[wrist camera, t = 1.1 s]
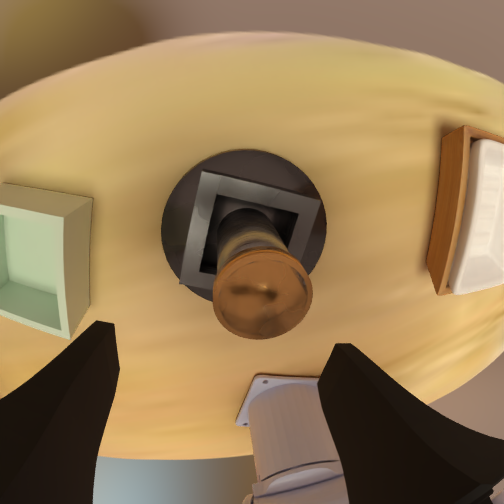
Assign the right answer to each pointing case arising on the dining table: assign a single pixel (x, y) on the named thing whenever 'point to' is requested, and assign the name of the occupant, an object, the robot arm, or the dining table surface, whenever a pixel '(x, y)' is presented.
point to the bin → (44, 258)
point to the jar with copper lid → (257, 278)
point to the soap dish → (468, 214)
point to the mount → (235, 197)
